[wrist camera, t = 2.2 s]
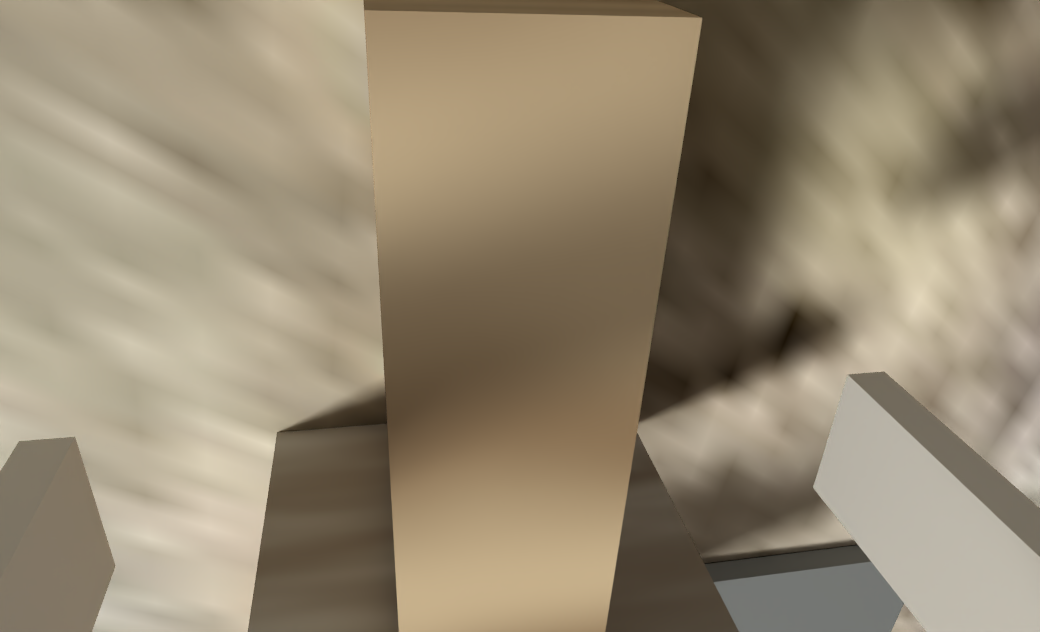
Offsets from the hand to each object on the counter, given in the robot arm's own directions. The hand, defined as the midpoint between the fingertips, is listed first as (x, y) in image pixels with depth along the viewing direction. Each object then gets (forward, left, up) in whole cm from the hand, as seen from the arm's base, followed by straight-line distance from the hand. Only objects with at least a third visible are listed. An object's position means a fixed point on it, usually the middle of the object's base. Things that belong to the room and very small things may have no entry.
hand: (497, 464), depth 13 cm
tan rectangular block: (-1, 0, -7) cm, 7 cm away
